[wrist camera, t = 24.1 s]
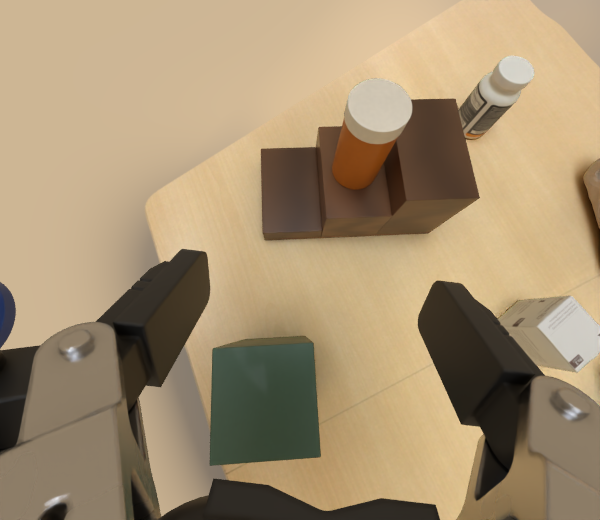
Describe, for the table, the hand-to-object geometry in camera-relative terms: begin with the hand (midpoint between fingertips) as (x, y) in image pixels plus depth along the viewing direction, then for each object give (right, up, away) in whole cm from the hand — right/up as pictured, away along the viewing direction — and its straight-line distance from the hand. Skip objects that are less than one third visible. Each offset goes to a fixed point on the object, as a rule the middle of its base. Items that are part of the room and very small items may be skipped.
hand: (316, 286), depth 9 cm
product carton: (+29, -9, +26) cm, 40 cm away
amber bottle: (+6, +12, +23) cm, 27 cm away
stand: (-4, -13, +24) cm, 28 cm away
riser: (+6, +11, +30) cm, 33 cm away
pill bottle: (+27, +23, +34) cm, 50 cm away
